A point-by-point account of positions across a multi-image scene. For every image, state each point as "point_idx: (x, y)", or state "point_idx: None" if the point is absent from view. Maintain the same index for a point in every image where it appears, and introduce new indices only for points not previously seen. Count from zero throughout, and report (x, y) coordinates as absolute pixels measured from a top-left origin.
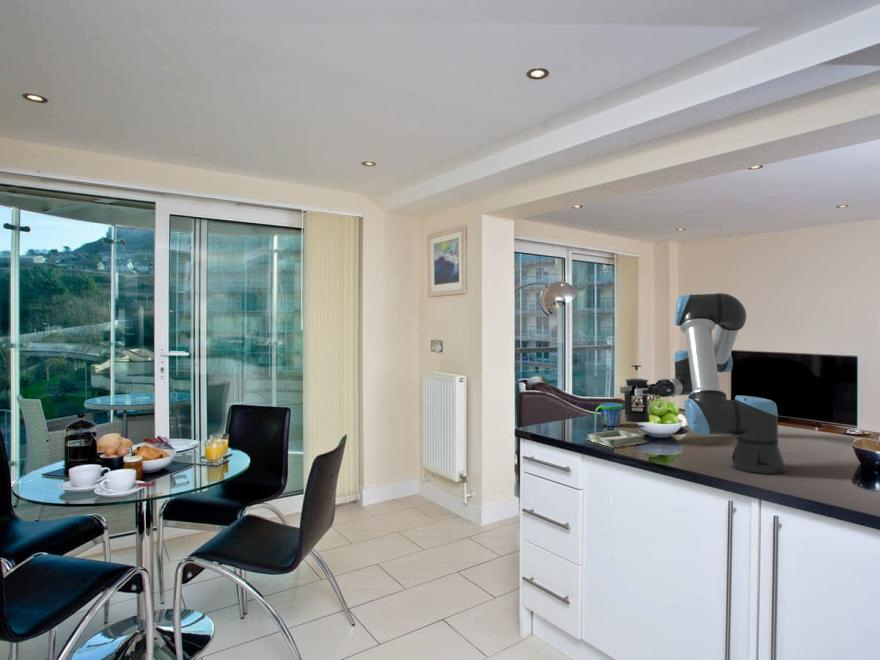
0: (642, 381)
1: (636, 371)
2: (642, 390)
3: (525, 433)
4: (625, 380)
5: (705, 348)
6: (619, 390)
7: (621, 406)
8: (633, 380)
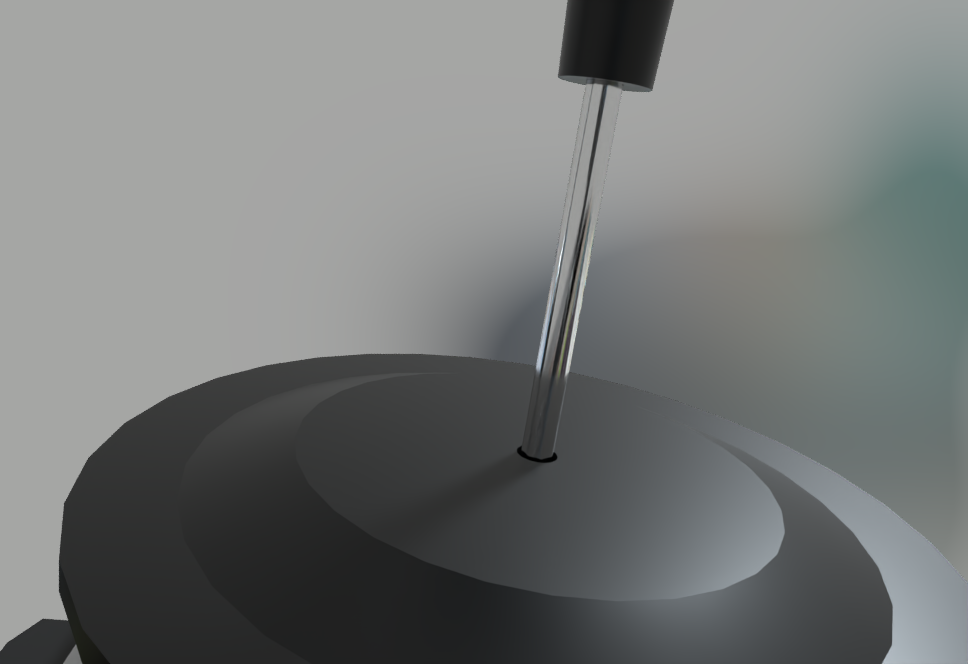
0: (159, 414)
1: (577, 143)
2: None
3: None
4: (645, 398)
5: None
6: None
7: None
8: (421, 373)
